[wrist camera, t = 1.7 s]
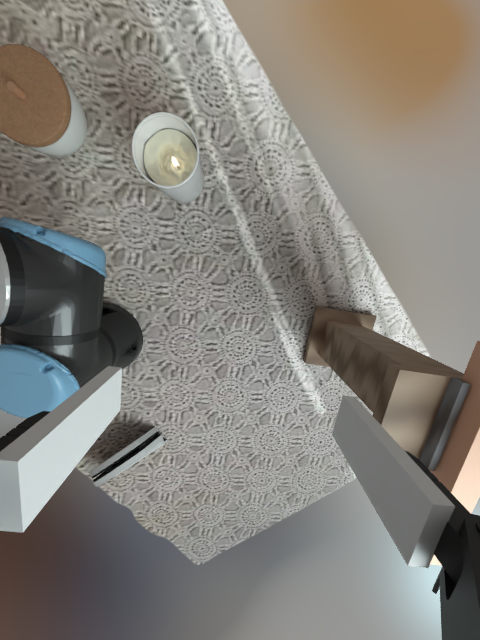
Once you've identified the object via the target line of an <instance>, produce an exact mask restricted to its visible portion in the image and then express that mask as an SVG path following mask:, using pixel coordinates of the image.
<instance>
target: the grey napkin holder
mask: <svg viewBox="0 0 480 640" xmlns="http://www.w3.org/2000/svg"><path fill="white" fill-rule="evenodd" d="M157 433H158V428H157V427H154V428H152V429H151V430H150V431H148V432H147V433H145V434H144V435H142V436H141V437H139V438H138V439H136V440H135V441H133V442H132V443H130V444H129V445H127V446H126V447H124V448H123V449H121V450H120V451H118V452H117V453H115V454H114V455H112V456H111V457H109V458H108V459H106V460H105V461H104V462H102V463H101V464H100V465H98V466H97V467H95V468H94V469H93V470H91V471H90V472H89V474H90V478H91V477H92V478H94V477H96V476H97V475H99V474H100V473H102V472H103V473H102V474H101V475H99V476H98V477H97V478H96V479H94V480H93V481H94V482H93V484H94V485H95V486H96V487H97V486H99V485H101V484H103V483H104V482H106V481H107V480H109V479H111V478H112V477H114V476H117V475H118V474H120V473H121V472H123V471H124V470H126V469H127V468H129V467H130V466H132V465H133V464H135V463H137V462H138V461H140V460H141V459H143V458H144V457H146V456H147V455H149V454H150V453H152V452H153V451H155V450H156V449H158V448H159V447H161V446H162V445H164V444H165V443H166V442H167V441H168V440H165V441H164V440H163V437H162V435H157V436H156V437H154V438H152V437H153V436H154V435H156V434H157ZM137 448H139V450H138V451H136V452H135V453H134V454H132V455H129V454H130V453H132V452H133V451H135V450H136V449H137ZM116 463H117V465H115V464H116ZM105 470H106V471H105Z"/></svg>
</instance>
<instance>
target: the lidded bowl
mask: <svg viewBox="0 0 480 640" xmlns="http://www.w3.org/2000/svg"><path fill="white" fill-rule="evenodd" d="M0 131H1V132H3V133H4V134H5V135H6V136H8V137H9V138H11V139H13V140H14V141H16V142H18V143H20V144H23V145H25V146H27V147H29V148H31V149H33V150H35V151H38V152H40V153H43V154H46V155H50V156H68V155H71V154H73V153H75V152H76V151H78V150H79V149H80V148H81V146H82V145H83V143H84V141H85V138H86V134H87V122H86V117H85V113H84V110H83V108H82V105H81V103H80V101H79V100H78V98H77V96H76V94H75V93H74V91H73V90H72V88H71V87H70V86H69V84H68V83H67V82H66V81H65V79H64V78H63V77H62V76H61V74H60V73H59V72H58V71H57V69H56V68H55V67H54V66H53V64H52V63H51V62H50V61H49V60H48V59H47V58H46V57H45V56H43V55H42V54H41V53H39V52H38V51H36V50H34V49H32V48H30V47H27V46H24V45H18V44H9V45H4V46H1V47H0Z"/></svg>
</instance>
